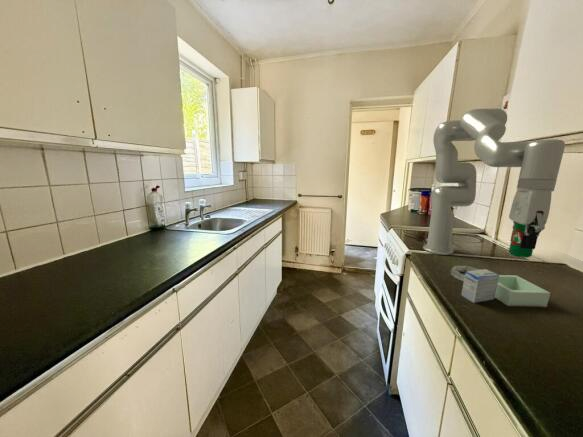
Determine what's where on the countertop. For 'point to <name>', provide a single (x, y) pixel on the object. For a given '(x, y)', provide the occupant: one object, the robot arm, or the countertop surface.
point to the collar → (457, 269)
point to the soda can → (519, 241)
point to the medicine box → (480, 285)
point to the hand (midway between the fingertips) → (522, 244)
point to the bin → (520, 292)
